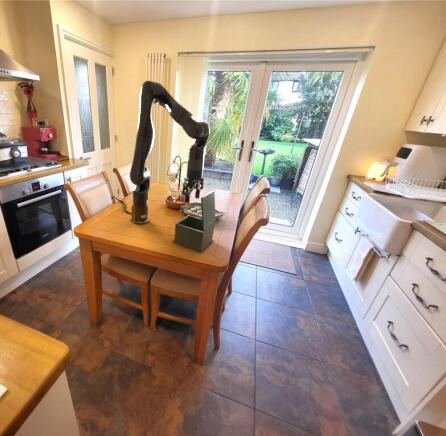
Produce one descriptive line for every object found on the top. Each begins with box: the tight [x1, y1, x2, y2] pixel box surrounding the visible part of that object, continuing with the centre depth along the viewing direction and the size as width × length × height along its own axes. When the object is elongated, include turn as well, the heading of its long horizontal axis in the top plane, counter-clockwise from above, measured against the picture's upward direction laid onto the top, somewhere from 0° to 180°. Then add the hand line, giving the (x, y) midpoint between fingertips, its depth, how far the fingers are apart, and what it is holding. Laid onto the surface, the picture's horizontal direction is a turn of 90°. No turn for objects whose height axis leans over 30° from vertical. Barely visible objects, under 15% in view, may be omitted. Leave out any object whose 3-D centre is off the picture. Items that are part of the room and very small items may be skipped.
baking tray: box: [179, 201, 227, 221], centre depth 154 cm, size 30×22×5 cm
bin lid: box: [200, 190, 216, 232], centre depth 113 cm, size 17×14×1 cm
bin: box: [173, 215, 216, 253], centre depth 122 cm, size 16×14×11 cm
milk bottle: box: [179, 176, 192, 203], centre depth 168 cm, size 8×8×20 cm
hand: (192, 200), depth 116 cm, fingers open, 8 cm apart
